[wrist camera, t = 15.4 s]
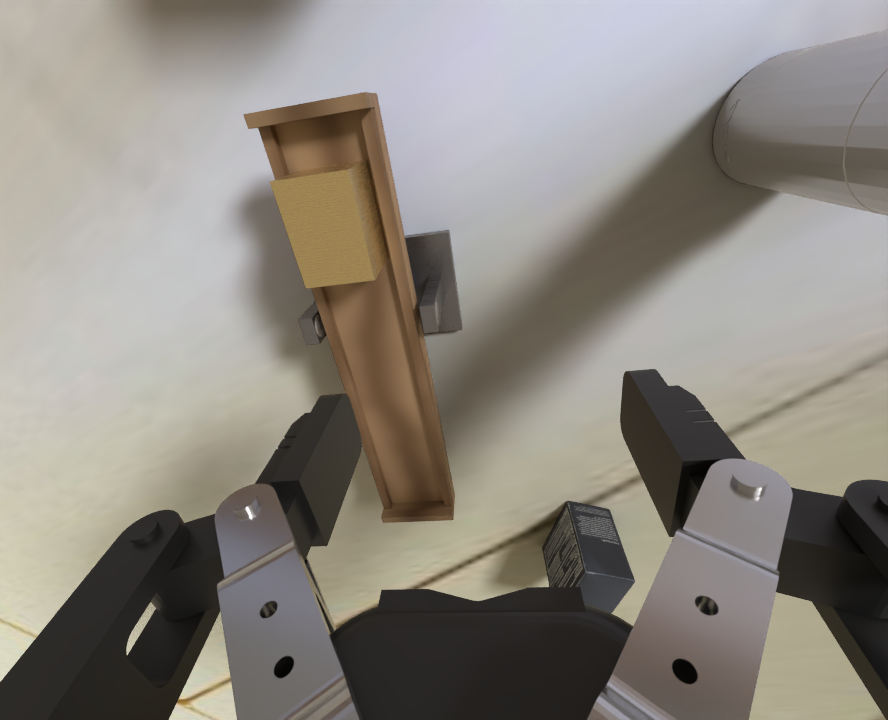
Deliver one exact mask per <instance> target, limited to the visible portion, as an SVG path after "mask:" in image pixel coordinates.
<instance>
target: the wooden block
mask: <svg viewBox="0 0 888 720" xmlns="http://www.w3.org/2000/svg"><path fill="white" fill-rule="evenodd" d="M270 184H271V187H272V190H273V192H274V195H275V198H276V201H277V204H278V207H279V210H280V213H281V216H282V219H283V222H284V225H285V228H286V231H287V234H288V237H289V240H290V243H291V246H292V249H293V252H294V255H295V258H296V261H297V264H298V266H299V269H300V272H301V275H302V278H303V281H304V284H305V287H306V288H315V287H323V286H331V285H340V284H348V283H357V282H365V281H373V280H375V279H376V278H377V276H378V274H379V272H380V271H381V269H382V267H383V266H384V264H385V262H386V260H387V259H388V254H387V249H386V245H385V240H384V236H383V231H382V227H381V222H380V218H379V213H378V209H377V204H376V200H375V195H374V191H373V186H372V181H371V177H370V172H369V168H368V163H367V160H363V161H357V162H350V163H344V164H338V165H331V166H325V167H319V168H313V169H306V170H300V171H297V172H294V173H292V174H289V175H286V176H284V177H281V178H278V179H276V180H273V181H271V182H270Z"/></svg>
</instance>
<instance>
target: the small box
mask: <svg viewBox="0 0 888 720" xmlns="http://www.w3.org/2000/svg"><path fill="white" fill-rule="evenodd" d="M542 549H543V554H544V559H545V564H546V570H547V575H548V581H549V587H581V592H582V597H583V601H584V604H586V605H590V606H594V607H596V608H599V609H602V610H604V611H607V612H609V613H612V612H613V611H614V609H615V608H616V607H617V605H618V604H619V603H620V601H621V600H622V599H623V597H624V596H625V595H626V593H627V592H628V591H629V589H630V588H631V587H632V585H633V584H634V583H635V580H634V577H633V574H632V571H631V568H630V566H629V563H628V560H627V557H626V555H625V552H624V549H623V546H622V543H621V541H620V538H619V535H618V532H617V529H616V526H615V524H614V521H613V518H612V515H611V512H610V510H609V509H605V508H601V507H596V506H591V505H586V504H581V503H577V502H572V501H567V502H566V504H565V506H564V508H563V510H562V512H561V514H560V516H559V517H558V519H557V521H556V523H555V525H554V527H553V529H552V531H551V533H550V534H549V536H548V538H547V540H546V542H545V544H544V546H543V548H542Z"/></svg>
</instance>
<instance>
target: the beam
mask: <svg viewBox="0 0 888 720" xmlns="http://www.w3.org/2000/svg"><path fill="white" fill-rule="evenodd" d="M244 118H245V121H246V123H247V126H248V129H251V128H258V129H259V132H260V135H261V138H262V141H263V144H264V147H265V150H266V153H267V156H268V159H269V162H270V165H271V168H272V171H273V174H274V177H275V180H276V179H278V178H281V177H284V176H286V175H289V174H292V173H294V172H297V171H300V170H306V169H313V168H319V167H325V166H331V165H338V164H344V163H350V162H357V161H363V160H367V163H368V168H369V172H370V177H371V181H372V186H373V191H374V195H375V200H376V204H377V209H378V213H379V218H380V222H381V227H382V231H383V236H384V240H385V245H386V249H387V254H388V259H387V260H386V262H385V264H384V266H383V267H382V269H381V271H380V272H379V274H378V276H377V278H376V279H375V280H373V281H365V282H357V283H348V284H340V285H331V286H323V287H315V288H311V289H312V292H313V295H314V298H315V301H316V304H317V307H318V310H319V313H320V316H321V319H322V322H323V325H324V328H325V331H326V334H327V337H328V340H329V343H330V346H331V350H332V353H333V356H334V359H335V362H336V365H337V368H338V371H339V374H340V377H341V380H342V383H343V386H344V389H345V392H346V394H347V395H348V397H349V399H350V401H351V405H352V408H353V411H354V414H355V418H356V421H357V424H358V427H359V431H360V434H361V440H362V443H363V446H364V449H365V452H366V455H367V458H368V461H369V464H370V467H371V470H372V473H373V476H374V480H375V483H376V486H377V489H378V492H379V495H380V498H381V501H382V504H383V507H384V509H383V513H382V521H383V523H388V522H414V521H440V520H453V516H454V498H455V493H454V488H453V483H452V478H451V473H450V468H449V463H448V457H447V452H446V447H445V442H444V437H443V432H442V427H441V421H440V416H439V411H438V406H437V401H436V396H435V391H434V385H433V380H432V375H431V370H430V365H429V360H428V355H427V349H426V344H425V339H424V334H423V329H422V324H421V319H420V313H419V308H418V303H417V298H416V293H415V288H414V283H413V277H412V272H411V267H410V262H409V257H408V252H407V247H406V241H405V236H404V231H403V226H402V221H401V216H400V211H399V205H398V200H397V195H396V190H395V185H394V180H393V175H392V169H391V164H390V159H389V154H388V149H387V144H386V139H385V133H384V128H383V123H382V118H381V113H380V108H379V103H378V97H377V94H376V93H366V92H364V93H359V94H353V95H348V96H342V97H337V98H331V99H326V100H320V101H315V102H309V103H304V104H298V105H293V106H287V107H282V108H277V109H271V110H266V111H260V112H255V113H249V114H244Z"/></svg>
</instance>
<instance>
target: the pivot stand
mask: <svg viewBox="0 0 888 720" xmlns="http://www.w3.org/2000/svg"><path fill="white" fill-rule="evenodd" d="M405 241H406V247H407V252H408V257H409V262H410V267H411V272H412V277H413V283H414V288H415V293H416V298H417V303H418V308H419V313H420V319H421V324H422V329H423V334H424V333H434V332H444V331H454V330H462V321H461V314H460V306H459V299H458V292H457V284H456V277H455V269H454V262H453V255H452V247H451V240H450V232H449V230H445V231H437V232H430V233H422V234H415V235H407V236H405ZM298 321H299V324H300V327H301V330H302V333H303V336H304V339H305V342H306V344H307V345H312V344H320V343H321V341H322V340H323V339H324V337H325V336H326V331H325V328H324V325H323V322H322V319H321V316H320V313H319V310H318V307H317V304H316V301H315V302H314V303H313V304H312V305H311V306H310V307H309V308H308V310H307V311H306V312H305V313H304V314H303V315H302V316H301V317H300V318H299V319H298Z"/></svg>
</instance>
